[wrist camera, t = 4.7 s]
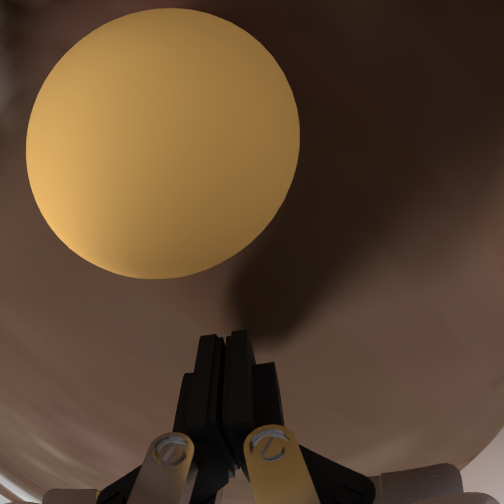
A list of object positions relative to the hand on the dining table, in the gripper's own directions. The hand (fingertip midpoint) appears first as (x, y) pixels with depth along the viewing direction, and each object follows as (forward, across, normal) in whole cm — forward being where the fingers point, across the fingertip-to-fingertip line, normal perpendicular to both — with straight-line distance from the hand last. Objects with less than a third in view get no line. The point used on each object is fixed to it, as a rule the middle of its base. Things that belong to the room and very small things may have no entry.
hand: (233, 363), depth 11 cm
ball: (-2, 0, -8) cm, 8 cm away
